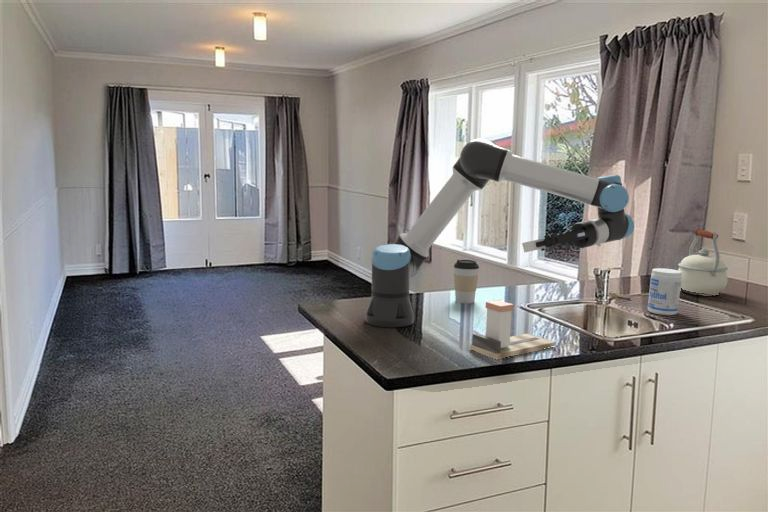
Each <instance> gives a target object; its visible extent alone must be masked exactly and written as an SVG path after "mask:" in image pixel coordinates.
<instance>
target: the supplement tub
mask: <svg viewBox="0 0 768 512" xmlns="http://www.w3.org/2000/svg"><path fill="white" fill-rule="evenodd" d="M681 275H682V272H681V271H678V270H677V269H671V268H664V267H663V268H660V267H659V268H658V267H657V268H652V270H651V274H650V281H649V282H650V284H649V293H648V301H647V311H648V312H650V313H653V314H655V315H664V316H675V315H677V313H678V312H679V303H680V294H681V279H682V276H681Z"/></svg>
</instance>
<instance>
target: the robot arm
mask: <svg viewBox="0 0 768 512" xmlns="http://www.w3.org/2000/svg"><path fill="white" fill-rule="evenodd" d="M489 181H493V182H498V183H501V182H503V181H507V182H511V183H514V184H517V185H521V186H525V187H528V188H530V189H534V190H537V191H541V192H545V193H548V194H552V195H555V196H559V197H563V198H565V199H569V200H573V201H576V202H579V203H583V204H587V205H590V206H593V207H596V209H597V216H598V218H593V219H587V220H585V221H580V222H576V223H574V224H572V226H571V228H570V230H568V231H567V230H566V231H564V232H563V233H558V234H556V235H554V236H553V235H552V236H550V237H549V235H546V234H545V235H544V238H543V237H542V238H540V239H535V240H529V241H525V242H522V243H521V245H522V247H523V249H522V250H523V252H524V253H529V252H533V251H538V250H541V251H542V252H543V251H546V250H545V249H546V248H550V247H554V246H559V247H561V246H571V245H574V246H576V247H577V248H578V249H585V248H589V247H591V246H596V245H597V247H601V246H602V244H605V243H606V244H607V243H610V242H615V241H621V240H623V239H626V238H628V237H630V236H631V235H632V234H633V233H634V230H635V221H634V220H633V219H632V216H630V214H628V213H625V208H626V206H628V204H629V199H630V197H629V191H628V190H627V189H626V187H625V186H623V182H622V178H621V176H620V175H618V174H615V175H613V174H612V175H604V176H599V177H593V176H589V175H586V174H582V173H579V172H574V171H572V170H568V169H564V168H561V167H559V166H558V167H557V166H554V165H551V164H547V163H544V162H541V161H537V160H532V159H530V158H526V157H522V156H519V155H515V154H513V153H512V152H511V150H510V149H507V148H504V147H501V146H498V145H497V144H496V143H495V142H494V141H492V140H491V139H486V138H485V139H484V138H476V139H472V140H470V141H468V142H467V143H466V144H465V145H464V146H463V147H462V150H461V152H460V157H459V158H458V159H457V160H456V162H455V163H454V164H453V166H452V175H451V176H450V178H449V179H448V180H447V181H446V182H445V184H444V185H443V186H442V188H441V189H440V190H439V192H438V193H437V194H436V196H435V197H434V198H433V200H432V201H431V202H430V203H429V205H427V207H426V208H425V210H424V211H423V213H421V215H420V216H419V217H418V219H417V220H416V221H415V222H414V224H413V225H412V226H411V228H410V229H409V230H408V232H403V233H400V234H399V235H398V237H397V238H396V240H395V241H394V242H393V243H392V244H390V243H389V244H384V245H378V246H376V247H375V248H374V249H373V251H372V255H371V296H370V297H371V298H370V300H369V303H368V306H367V308H366V311H365V316H364V317H365V323H366V324H368V325H371V326H375V327H379V328H403V327H409V326H411V325H413V324H414V322H415V314H414V311H413V307H412V303H411V300H410V279H411V278H413V277H414V276H415V275H416V274H418V272H420V269H421V267H422V265H423V264H424V263H425V261H426V260H427V258H429V256H430V251H429V249H430V248H431V246H432V245H433V244H434V242H435V241H436V240H437V239H438V238H439V236H440V235H441V234H442V233H443V231H444V230H445V229H446V227H447V226H448V225H449V224H450V223H451V222H452V220H453V219H454V217H455V216H456V215H457V213H459V211H460V210H461V209H462V207H463V206H464V205H465V204H466V203H467V201H468V200H469V198H470V197H471V196H472V195H473V194H474V193H475V192H477V191H482V190H483V188H484V187H486V185H487V183H488V182H489Z"/></svg>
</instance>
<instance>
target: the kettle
mask: <svg viewBox="0 0 768 512" xmlns="http://www.w3.org/2000/svg"><path fill="white" fill-rule="evenodd" d="M699 237H702V238H706V239H711V240H712V247H713V251H714V254H715V255H714V256H713V255H709V254H710V251H709V250H708V249H707V248H705V247H703V248H702V249H700V250H699V251H698V253H699V254H693V253H694V248H695V246H696V244H697V242H698V240H699ZM718 237H719V235H718V233H716V232H711V231H708V230H705V229H704V230H703V229H700V228H695V230H694V240H693V241H692V242H691V245H690V247H689V253H688V255H687V256H686V257H684V258H683V259H682V260H681V261H680V262H679V263H678V264H677V265H678V271H681V272H682V275H681V276H682V279H681V287H680V289H681V288H682V289H683V290H686V291H690V292H696V293H706V294H716V293H719V292H720V293H721V292H722V291H723V290H724V289H725V288H726V287H727V285H728V274H727V271H728V270H729V269H728V267H727V266H726V264H725V262H724V261H723V260H722V259H721V258H720V257H721V256H720V253H719V248H718V244H717V240H718Z"/></svg>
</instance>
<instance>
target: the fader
mask: <svg viewBox="0 0 768 512" xmlns="http://www.w3.org/2000/svg"><path fill="white" fill-rule="evenodd" d="M485 309H486V324H485V325H486V326H485V336H486V337H489V338H492V339H495V340H498V341H501V348H504V347H509V346H510V337H511V330H512V328H511V327H512V311H514V304H513V303H510V302H506V301H502V300H492V301H491V300H490V301H485Z"/></svg>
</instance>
